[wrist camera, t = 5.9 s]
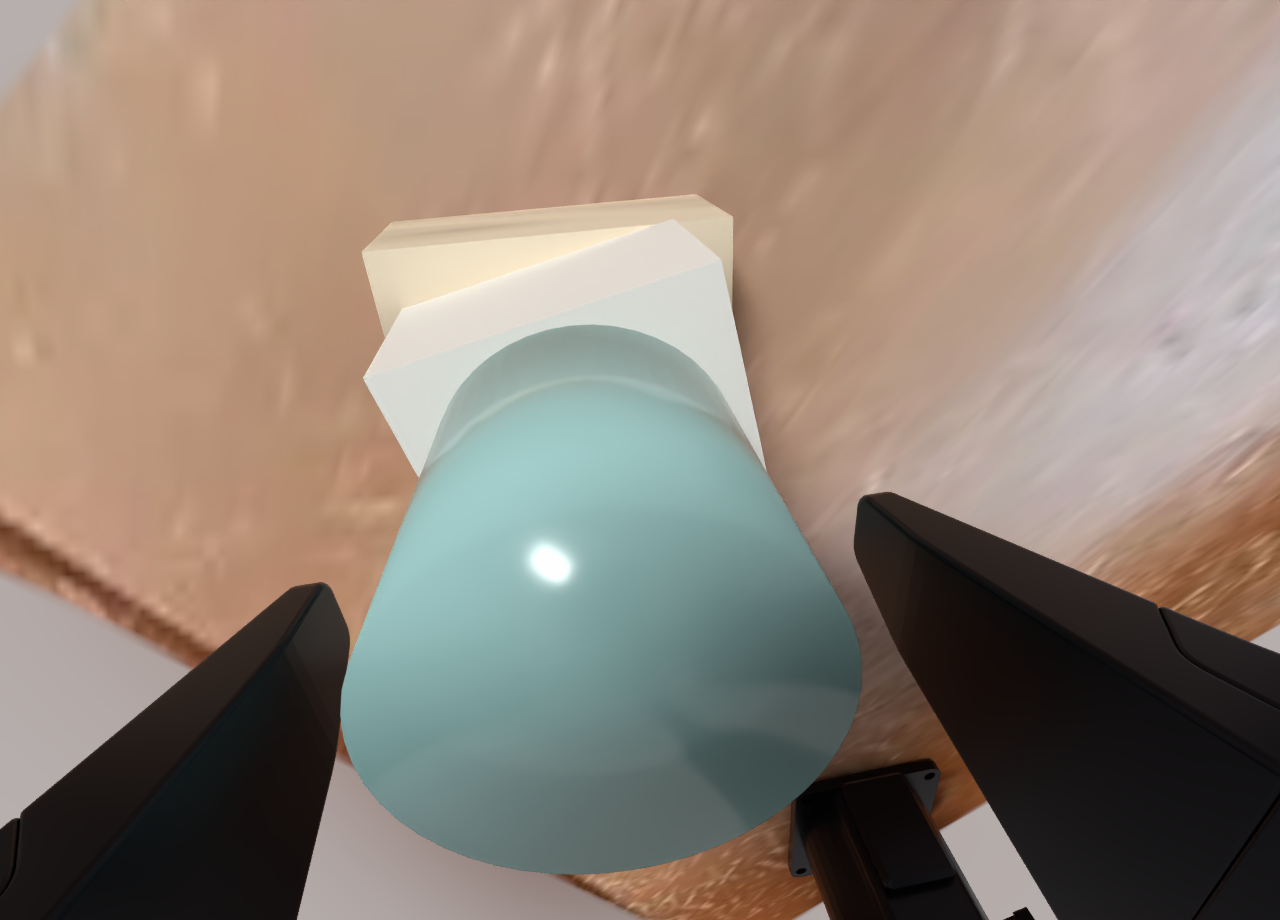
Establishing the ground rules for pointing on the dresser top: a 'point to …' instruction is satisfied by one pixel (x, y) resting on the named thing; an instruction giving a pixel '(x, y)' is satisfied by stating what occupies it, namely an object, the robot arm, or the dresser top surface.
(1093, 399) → the dresser top surface
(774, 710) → the teal rounded cylinder
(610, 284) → the tower mid
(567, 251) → the tower base
